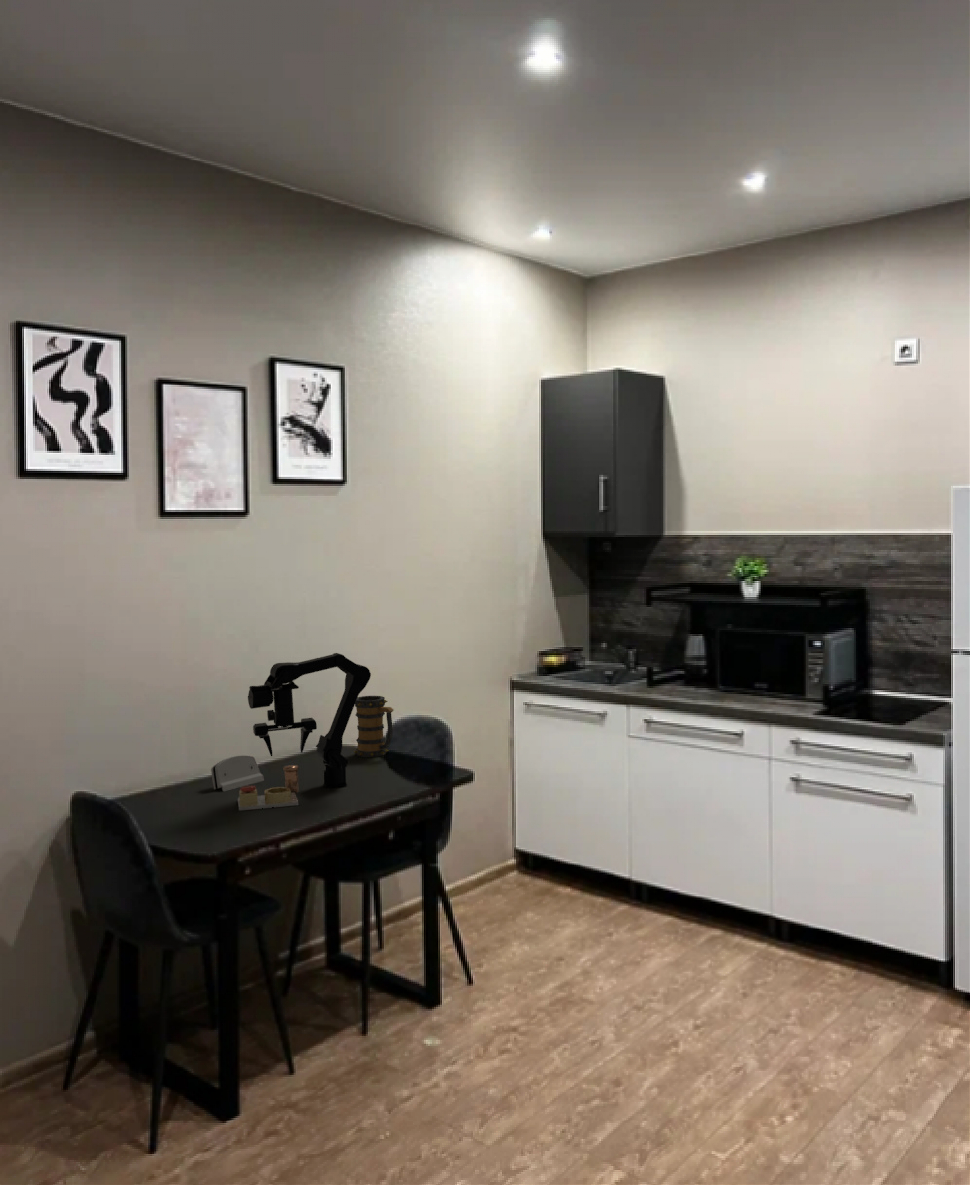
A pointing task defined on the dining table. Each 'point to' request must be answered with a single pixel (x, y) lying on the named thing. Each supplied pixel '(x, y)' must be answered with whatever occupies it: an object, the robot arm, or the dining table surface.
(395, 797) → the dining table surface
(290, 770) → the pipe stub
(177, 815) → the dining table surface
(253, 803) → the panel with octagonal sockets
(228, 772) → the hinge
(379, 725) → the mug
